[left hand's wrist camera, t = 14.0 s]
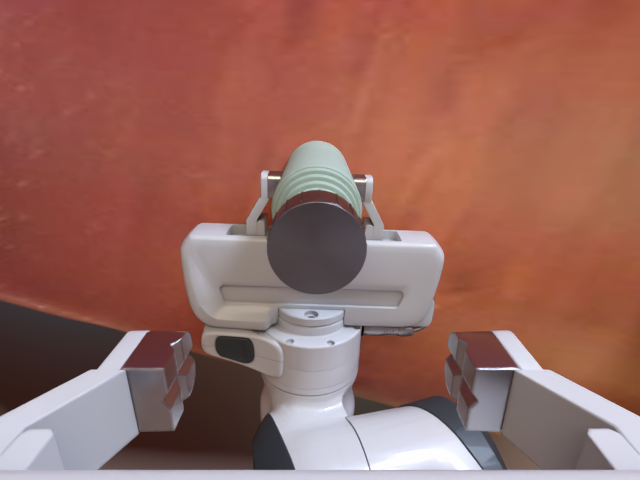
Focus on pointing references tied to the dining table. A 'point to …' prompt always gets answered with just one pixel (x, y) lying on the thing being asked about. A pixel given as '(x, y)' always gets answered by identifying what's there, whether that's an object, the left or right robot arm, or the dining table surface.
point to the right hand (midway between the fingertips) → (316, 173)
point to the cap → (316, 242)
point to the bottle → (316, 175)
